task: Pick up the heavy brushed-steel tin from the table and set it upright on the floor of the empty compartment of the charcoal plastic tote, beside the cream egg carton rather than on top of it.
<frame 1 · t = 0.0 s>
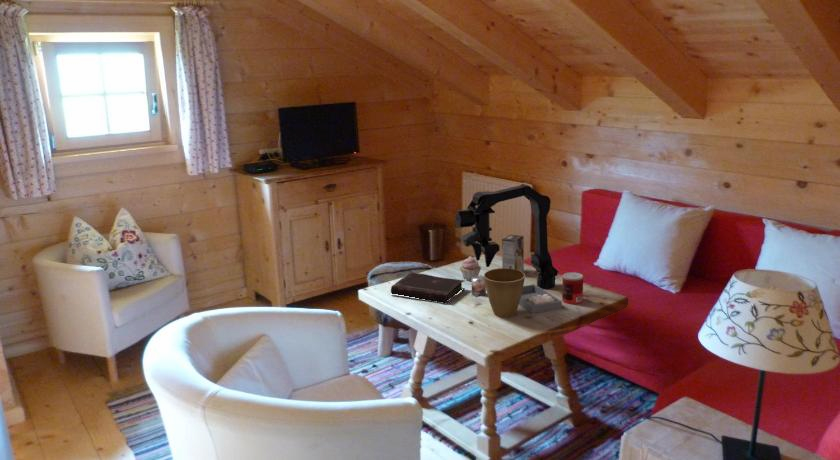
hand: (482, 263, 258), 15 cm above the table, fingers open, 9 cm apart
cupcake: (470, 278, 287), on the table
canned food: (572, 303, 255), on the table
egg carton: (541, 306, 249), point 1 cm above the table, touching tote
coffee box: (513, 272, 292), on the table
steel tin: (478, 294, 267), on the table
plant pot: (504, 315, 245), on the table
tote: (533, 303, 255), on the table
diary: (428, 293, 272), on the table
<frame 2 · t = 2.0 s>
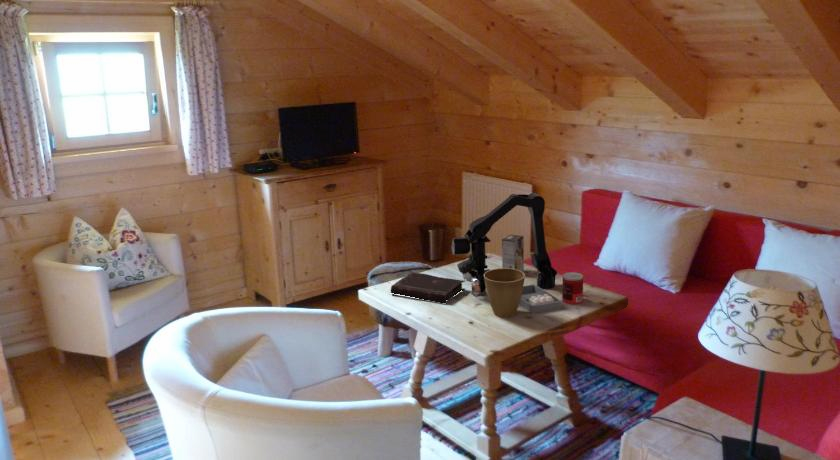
hand: (478, 289, 266), 2 cm above the table, fingers closed on steel tin, 6 cm apart
steel tin: (478, 294, 267), on the table, touching gripper
everything else where it was.
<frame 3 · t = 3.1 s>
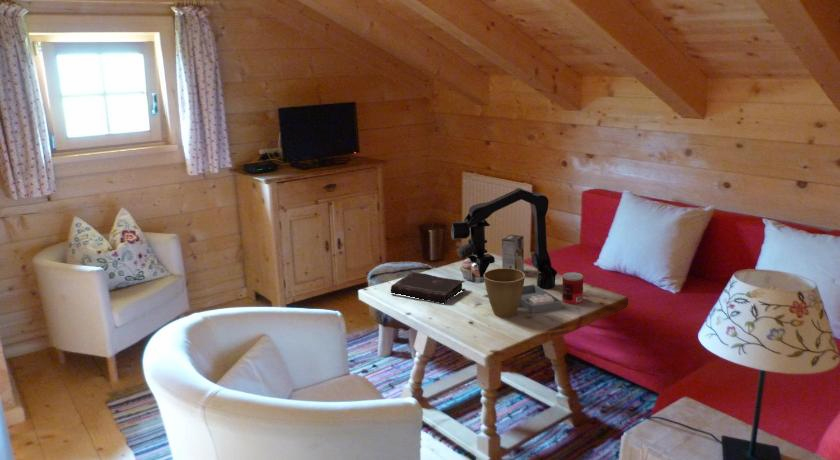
hand: (478, 274, 265), 8 cm above the table, fingers closed on steel tin, 6 cm apart
steel tin: (478, 279, 265), point 6 cm above the table, touching gripper
everything else where it was.
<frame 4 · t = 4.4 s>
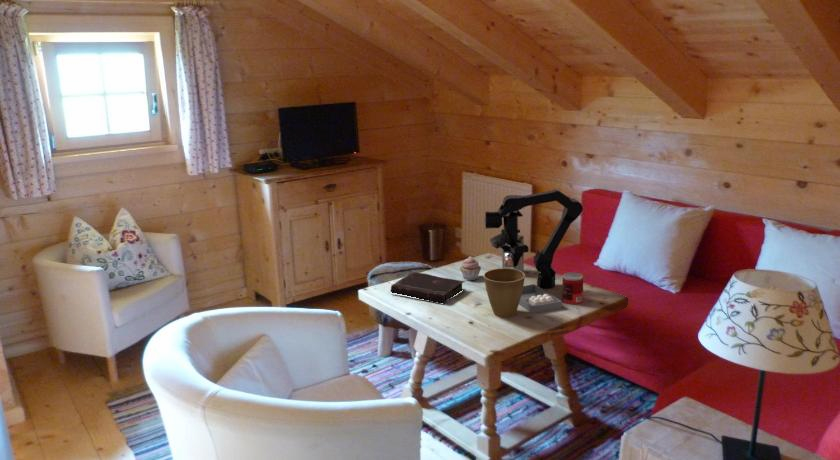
hand: (511, 264, 268), 11 cm above the table, fingers closed on steel tin, 6 cm apart
steel tin: (511, 269, 269), point 9 cm above the table, touching gripper
everything else where it was.
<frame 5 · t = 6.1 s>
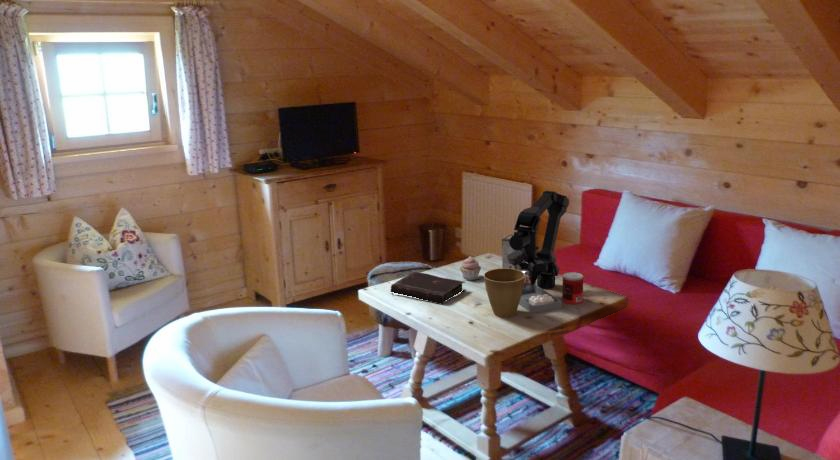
hand: (528, 282, 257), 7 cm above the table, fingers closed on steel tin, 6 cm apart
steel tin: (528, 287, 258), point 5 cm above the table, touching gripper
everything else where it was.
when the fingers open (4 cm above the table, at t = 7.2 s): steel tin stays where it is, resting on tote.
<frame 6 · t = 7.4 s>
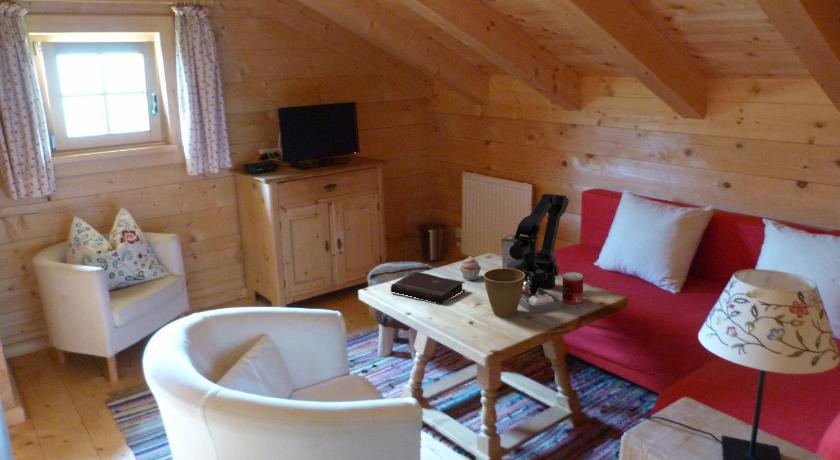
hand: (528, 291, 258), 4 cm above the table, fingers open, 8 cm apart
steel tin: (528, 298, 259), point 1 cm above the table, touching tote
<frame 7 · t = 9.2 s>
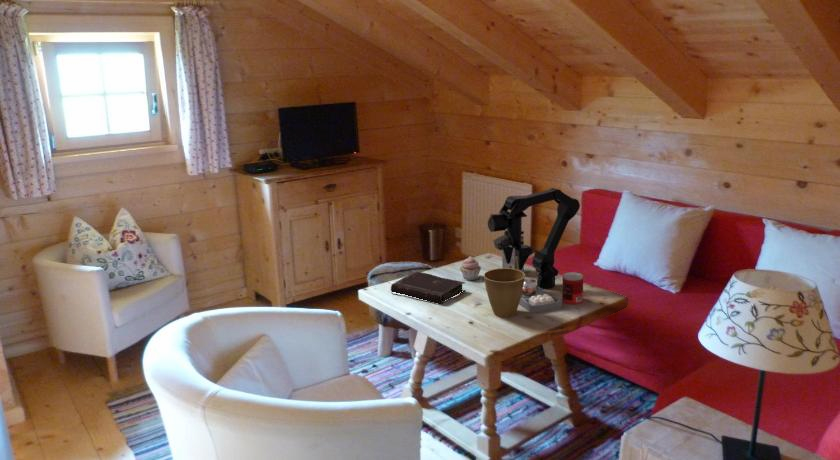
hand: (514, 266, 263), 12 cm above the table, fingers open, 9 cm apart
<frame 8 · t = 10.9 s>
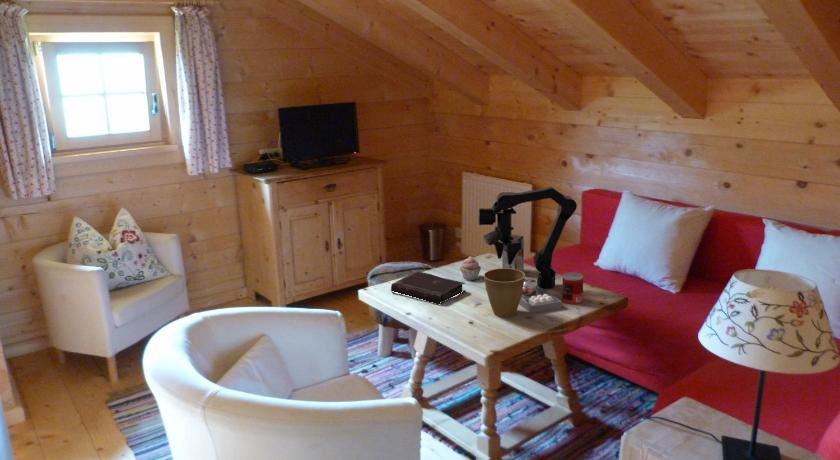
hand: (504, 261, 268), 12 cm above the table, fingers open, 9 cm apart
at the end: steel tin inside the target area (0.1 cm from its centre), point 0.8 cm above the table; steel tin tilted 0°; egg carton moved 0.0 cm from its start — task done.
